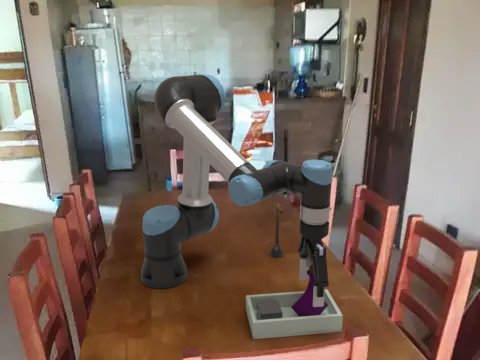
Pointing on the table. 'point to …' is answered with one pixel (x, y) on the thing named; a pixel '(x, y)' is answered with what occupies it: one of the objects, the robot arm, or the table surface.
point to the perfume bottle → (308, 297)
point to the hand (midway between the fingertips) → (310, 291)
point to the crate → (292, 317)
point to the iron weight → (268, 310)
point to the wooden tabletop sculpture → (277, 234)
